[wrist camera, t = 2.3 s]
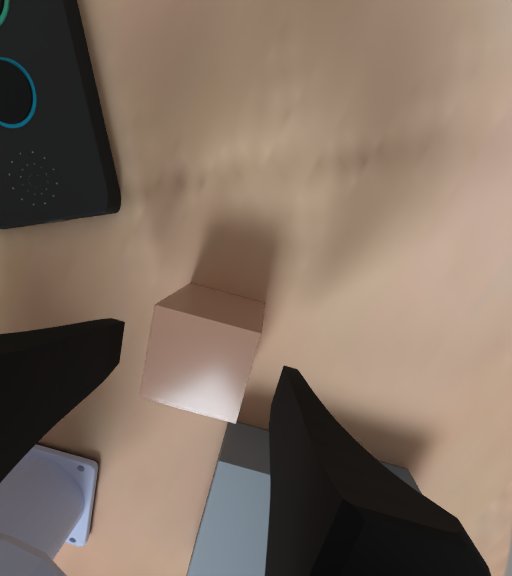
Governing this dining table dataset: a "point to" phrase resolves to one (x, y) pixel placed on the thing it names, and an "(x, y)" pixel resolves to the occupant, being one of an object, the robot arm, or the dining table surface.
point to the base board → (242, 507)
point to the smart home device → (50, 119)
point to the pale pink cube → (202, 351)
